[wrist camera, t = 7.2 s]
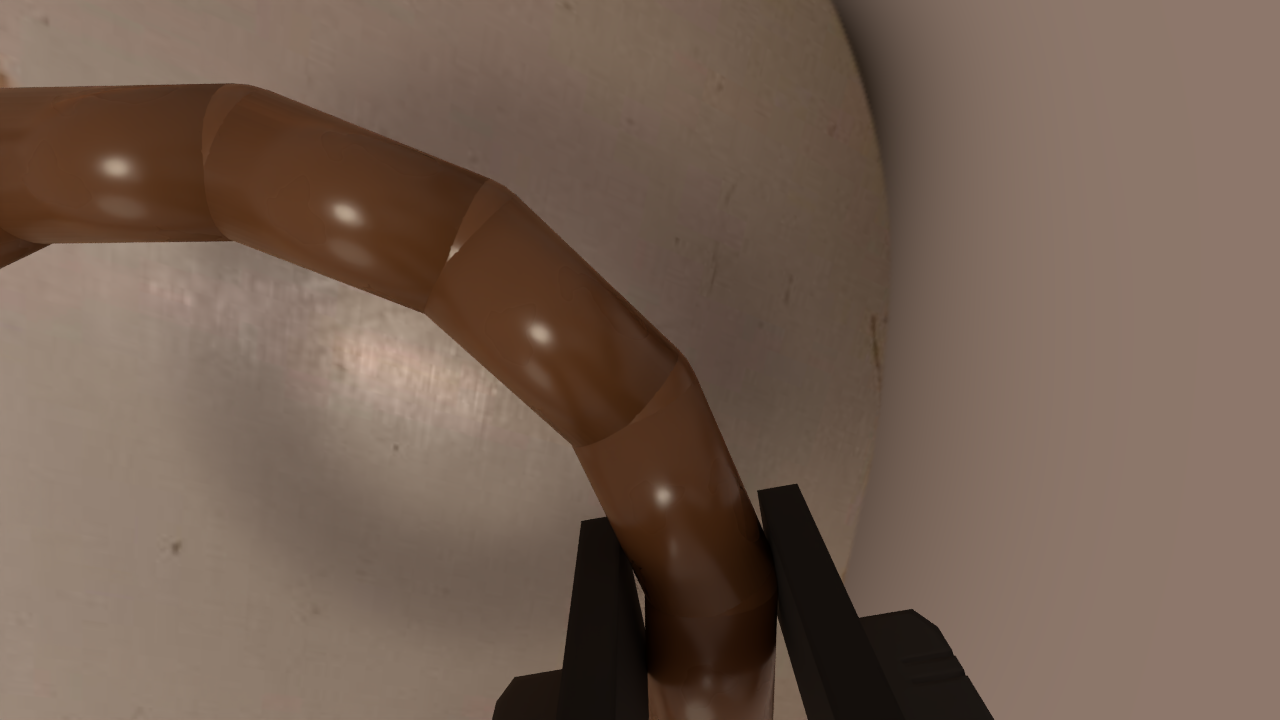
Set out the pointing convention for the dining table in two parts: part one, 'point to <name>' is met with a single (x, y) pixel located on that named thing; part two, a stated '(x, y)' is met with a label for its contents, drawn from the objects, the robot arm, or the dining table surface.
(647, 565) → the ring
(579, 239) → the dining table surface
